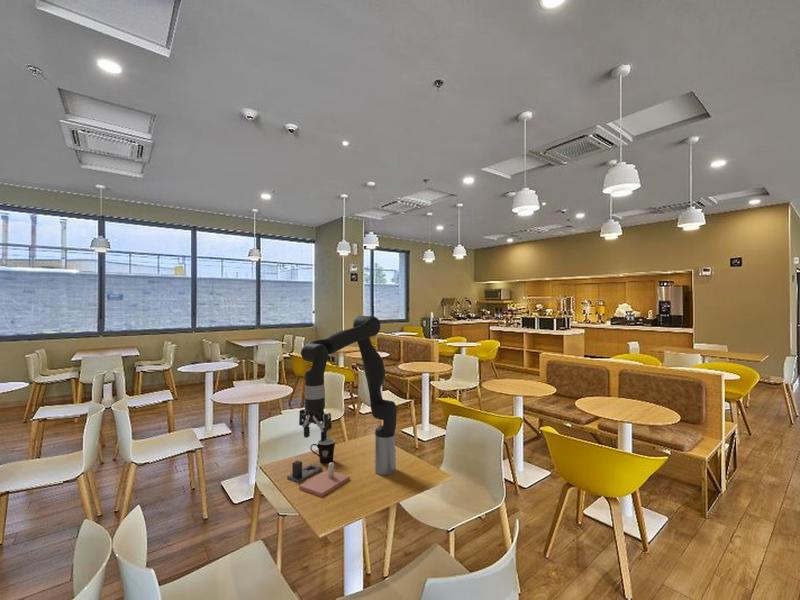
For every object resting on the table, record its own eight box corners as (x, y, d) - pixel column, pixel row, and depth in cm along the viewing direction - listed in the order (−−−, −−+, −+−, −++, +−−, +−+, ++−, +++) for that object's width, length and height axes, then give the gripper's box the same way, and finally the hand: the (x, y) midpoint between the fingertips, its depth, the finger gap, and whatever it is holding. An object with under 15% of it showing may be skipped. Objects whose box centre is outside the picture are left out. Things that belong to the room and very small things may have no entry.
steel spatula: (310, 466, 179) (310, 451, 179) (322, 470, 175) (322, 454, 176) (287, 478, 167) (287, 462, 167) (298, 482, 163) (298, 466, 163)
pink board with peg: (328, 472, 173) (328, 455, 173) (349, 479, 166) (349, 461, 166) (299, 489, 157) (299, 470, 157) (321, 497, 150) (321, 477, 151)
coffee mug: (338, 459, 187) (338, 439, 188) (328, 466, 180) (328, 445, 180) (319, 455, 192) (319, 436, 193) (309, 462, 185) (309, 442, 185)
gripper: (335, 396, 140) (336, 439, 140) (308, 392, 147) (308, 432, 147) (322, 400, 134) (322, 445, 134) (293, 396, 141) (294, 438, 141)
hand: (315, 438), depth 140 cm, fingers open, 8 cm apart
